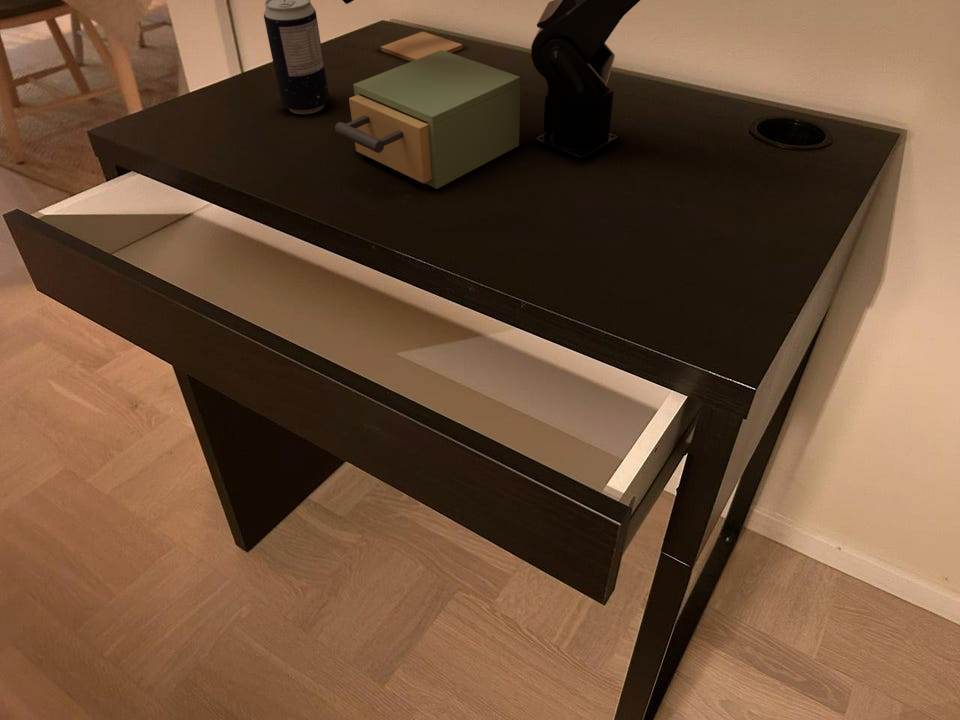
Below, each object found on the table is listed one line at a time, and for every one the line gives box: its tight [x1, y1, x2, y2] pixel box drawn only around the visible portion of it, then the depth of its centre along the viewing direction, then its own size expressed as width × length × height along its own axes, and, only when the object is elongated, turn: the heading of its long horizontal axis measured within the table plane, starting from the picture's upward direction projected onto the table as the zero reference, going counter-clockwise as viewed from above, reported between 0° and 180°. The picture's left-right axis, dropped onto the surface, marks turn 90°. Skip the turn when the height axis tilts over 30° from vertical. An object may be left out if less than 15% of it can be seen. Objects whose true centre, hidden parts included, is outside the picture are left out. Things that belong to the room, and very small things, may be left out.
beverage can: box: [263, 0, 330, 115], centre depth 86 cm, size 6×6×12 cm
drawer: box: [334, 95, 432, 184], centre depth 77 cm, size 15×10×6 cm
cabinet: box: [352, 50, 522, 190], centre depth 79 cm, size 13×12×8 cm
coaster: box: [380, 30, 464, 62], centre depth 103 cm, size 8×8×1 cm
